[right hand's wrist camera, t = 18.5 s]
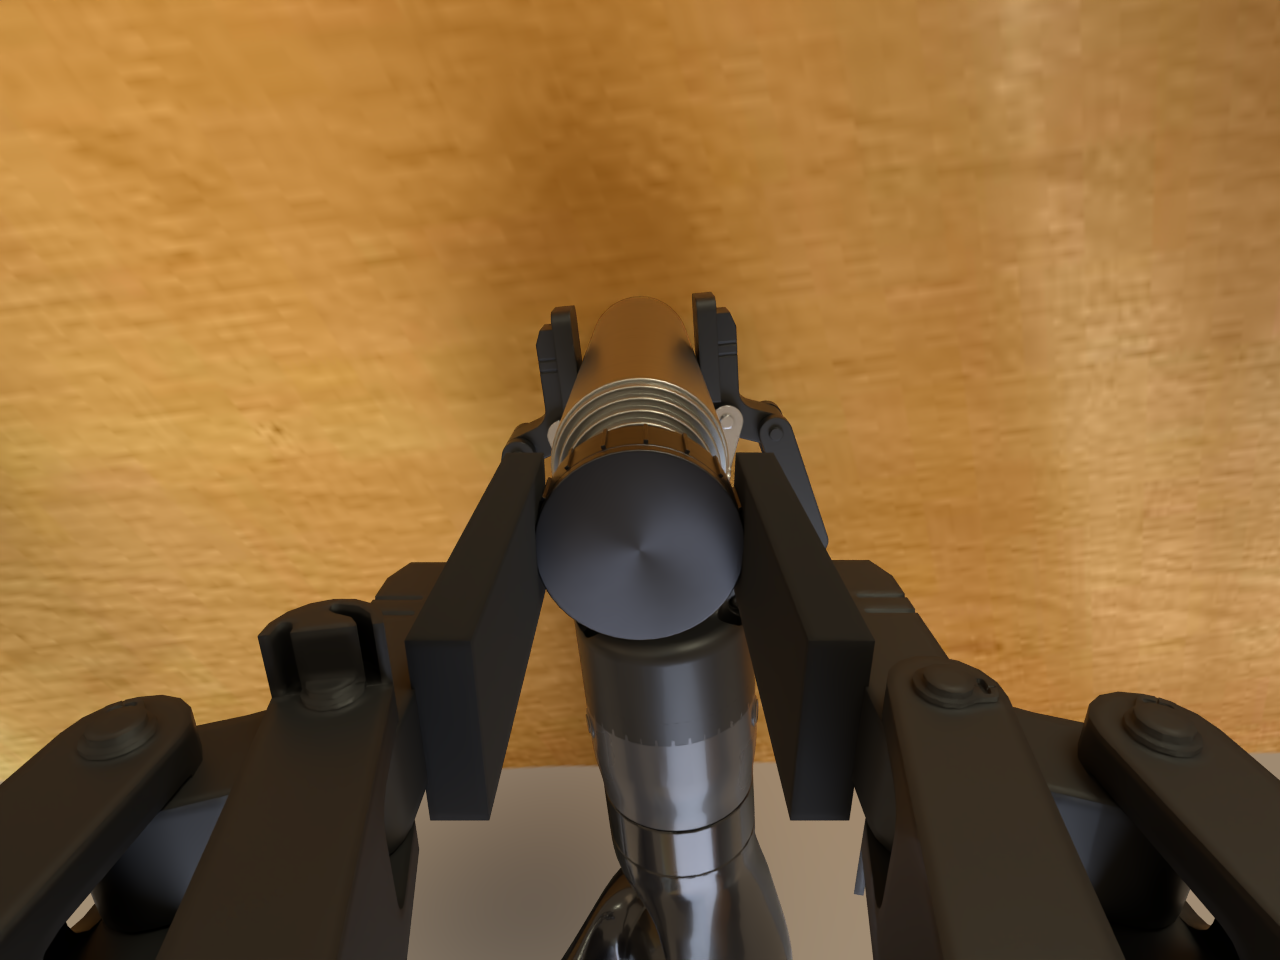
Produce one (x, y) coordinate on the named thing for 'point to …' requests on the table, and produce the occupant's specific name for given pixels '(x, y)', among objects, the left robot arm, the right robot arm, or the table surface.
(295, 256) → the table surface
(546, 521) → the cap
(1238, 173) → the table surface
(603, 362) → the bottle
